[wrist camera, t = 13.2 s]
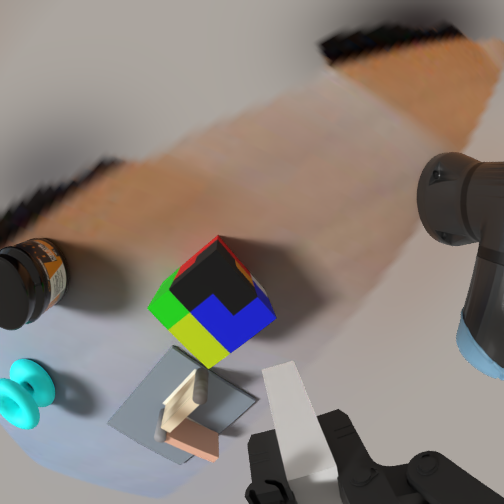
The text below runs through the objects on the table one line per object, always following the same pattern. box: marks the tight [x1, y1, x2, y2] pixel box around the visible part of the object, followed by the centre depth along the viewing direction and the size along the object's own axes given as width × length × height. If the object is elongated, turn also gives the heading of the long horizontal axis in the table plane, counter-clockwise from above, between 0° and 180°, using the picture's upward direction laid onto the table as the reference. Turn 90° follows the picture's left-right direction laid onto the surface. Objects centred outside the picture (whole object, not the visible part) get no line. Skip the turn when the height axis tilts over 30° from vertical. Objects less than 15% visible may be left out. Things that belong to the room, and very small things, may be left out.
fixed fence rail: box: [161, 368, 209, 433], centre depth 42 cm, size 10×2×7 cm, turn 140°
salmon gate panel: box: [154, 408, 219, 463], centre depth 43 cm, size 11×2×7 cm, turn 55°
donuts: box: [0, 359, 55, 429], centre depth 39 cm, size 10×10×10 cm
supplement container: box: [0, 238, 69, 330], centre depth 34 cm, size 10×10×12 cm
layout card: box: [107, 346, 255, 465], centre depth 46 cm, size 22×16×1 cm
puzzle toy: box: [147, 235, 276, 369], centre depth 38 cm, size 10×10×10 cm
